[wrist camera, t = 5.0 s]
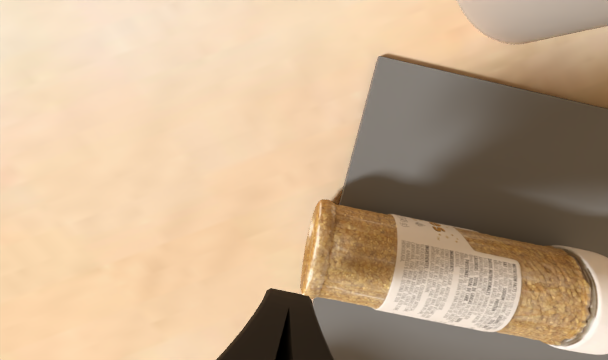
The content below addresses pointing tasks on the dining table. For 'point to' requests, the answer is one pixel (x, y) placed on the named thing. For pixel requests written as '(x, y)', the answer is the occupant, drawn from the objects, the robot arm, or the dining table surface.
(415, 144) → the rubber mat
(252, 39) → the dining table surface
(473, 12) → the lumpy-topped squat cylinder
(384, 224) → the sprinkles bottle
